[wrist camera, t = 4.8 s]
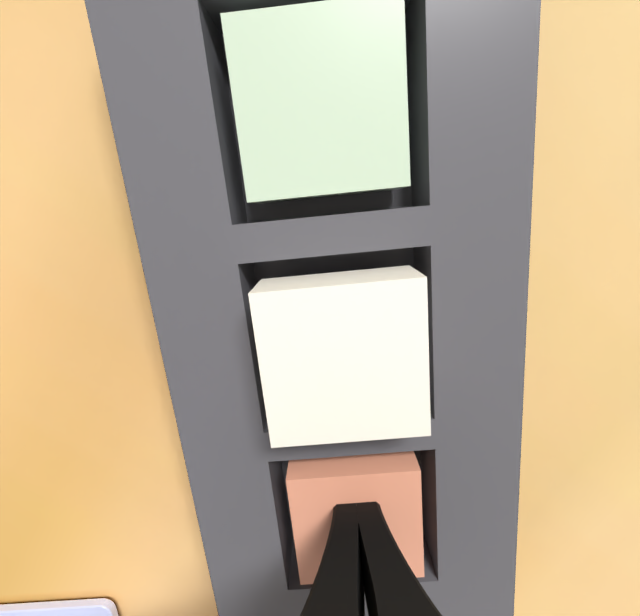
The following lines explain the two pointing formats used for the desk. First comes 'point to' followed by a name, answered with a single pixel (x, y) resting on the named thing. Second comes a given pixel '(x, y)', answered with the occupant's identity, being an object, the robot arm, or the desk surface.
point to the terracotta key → (355, 487)
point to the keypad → (336, 256)
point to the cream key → (343, 355)
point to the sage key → (320, 98)
